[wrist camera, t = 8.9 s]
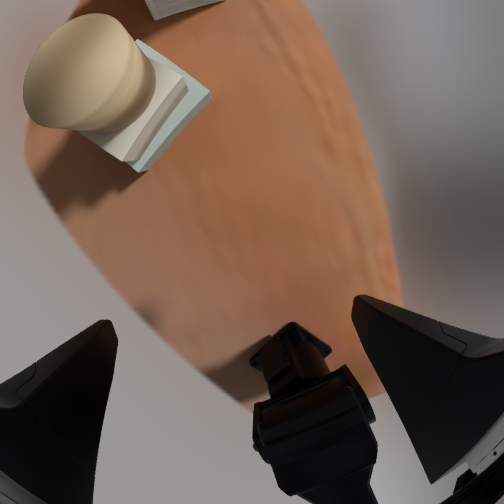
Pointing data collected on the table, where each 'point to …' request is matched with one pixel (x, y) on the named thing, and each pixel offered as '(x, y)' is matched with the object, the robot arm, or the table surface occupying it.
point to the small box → (174, 6)
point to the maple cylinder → (89, 77)
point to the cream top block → (144, 117)
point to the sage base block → (178, 118)
